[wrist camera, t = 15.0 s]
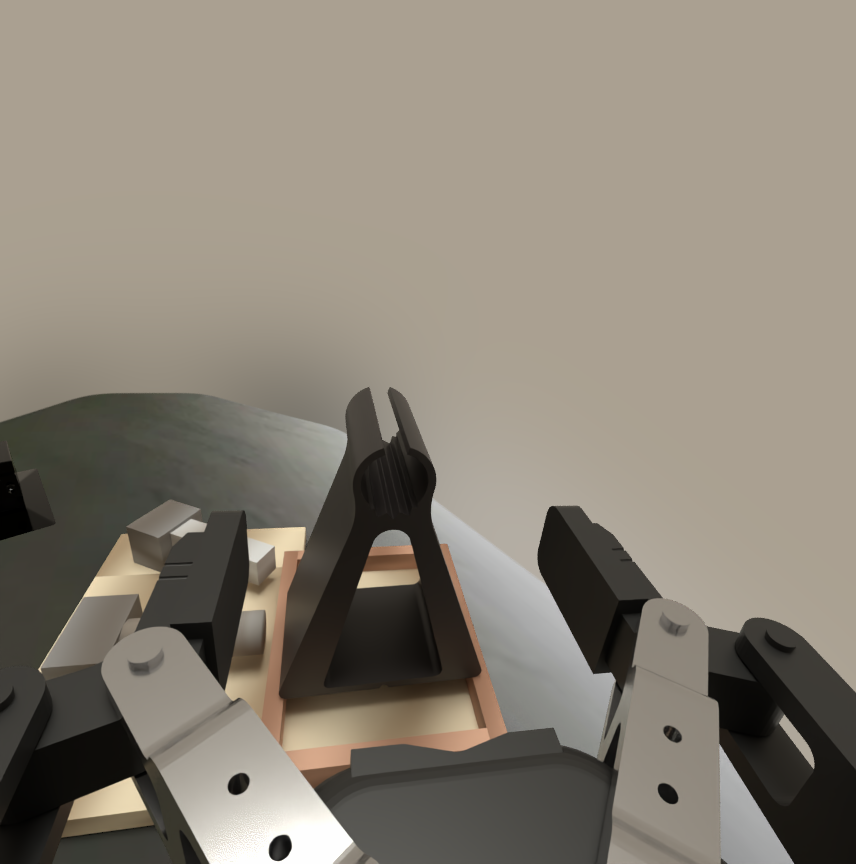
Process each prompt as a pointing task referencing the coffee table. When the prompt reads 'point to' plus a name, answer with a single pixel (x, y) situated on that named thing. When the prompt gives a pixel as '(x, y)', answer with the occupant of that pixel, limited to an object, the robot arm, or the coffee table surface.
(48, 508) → the black slotted box
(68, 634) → the stand
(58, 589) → the coffee table surface
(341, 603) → the phone stand
